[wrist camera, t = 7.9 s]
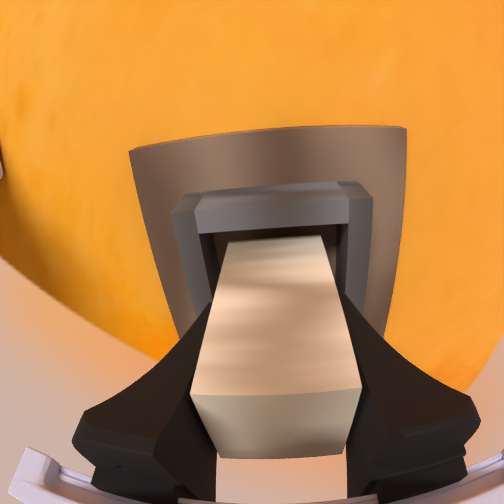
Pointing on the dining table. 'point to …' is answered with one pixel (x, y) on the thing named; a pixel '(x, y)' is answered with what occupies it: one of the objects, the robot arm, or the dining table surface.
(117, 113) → the dining table surface
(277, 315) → the square peg
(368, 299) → the socket block
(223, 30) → the dining table surface
